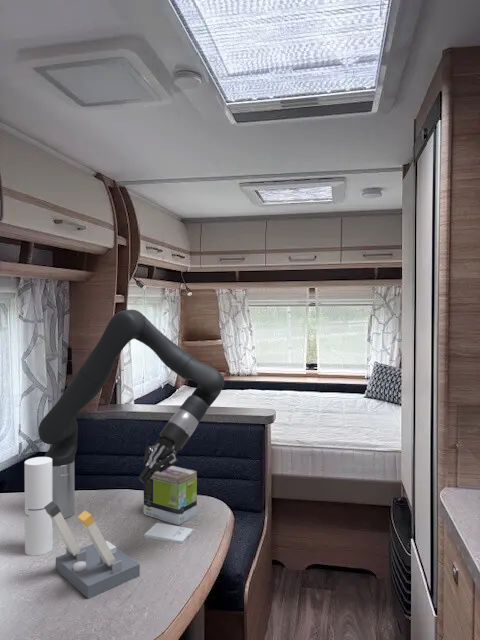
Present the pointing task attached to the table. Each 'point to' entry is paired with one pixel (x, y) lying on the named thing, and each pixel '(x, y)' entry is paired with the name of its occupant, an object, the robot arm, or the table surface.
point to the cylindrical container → (38, 506)
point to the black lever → (62, 528)
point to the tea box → (171, 495)
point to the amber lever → (96, 538)
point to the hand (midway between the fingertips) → (141, 481)
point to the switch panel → (96, 570)
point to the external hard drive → (169, 533)
